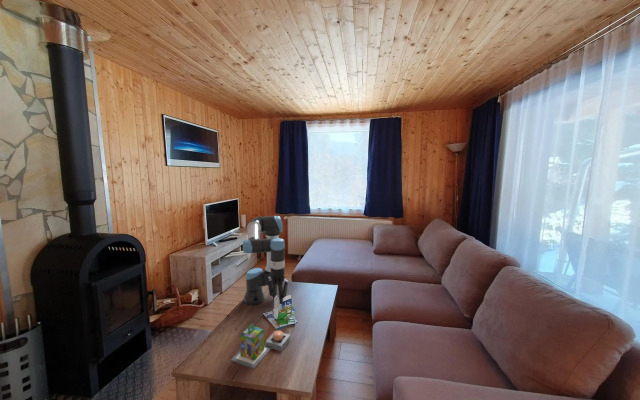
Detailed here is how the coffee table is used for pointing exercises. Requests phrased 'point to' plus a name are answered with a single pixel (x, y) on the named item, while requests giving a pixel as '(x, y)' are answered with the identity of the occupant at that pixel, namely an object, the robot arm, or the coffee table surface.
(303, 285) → the coffee table surface
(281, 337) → the button
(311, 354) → the coffee table surface
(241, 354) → the chalk box
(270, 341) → the button console
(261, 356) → the slate
